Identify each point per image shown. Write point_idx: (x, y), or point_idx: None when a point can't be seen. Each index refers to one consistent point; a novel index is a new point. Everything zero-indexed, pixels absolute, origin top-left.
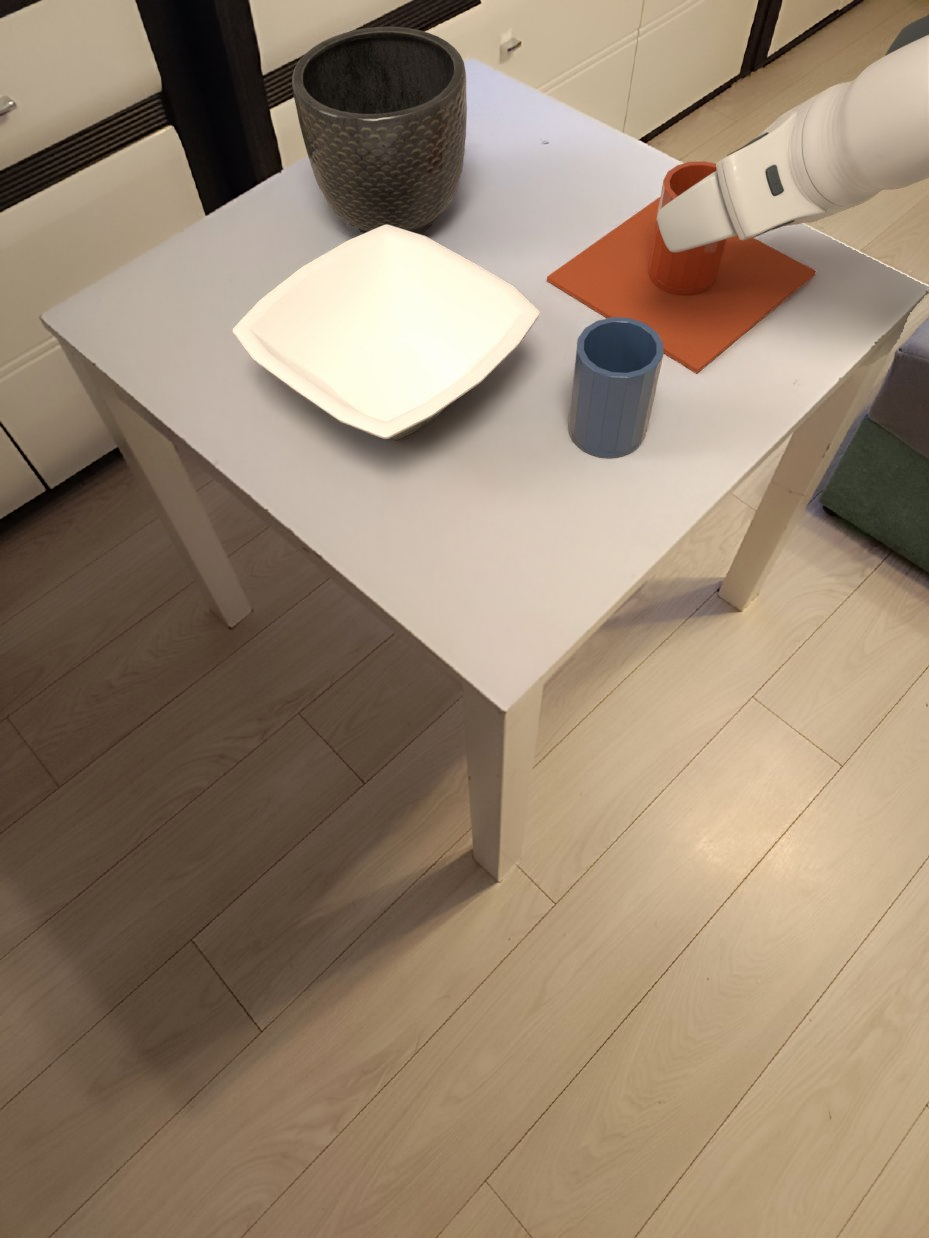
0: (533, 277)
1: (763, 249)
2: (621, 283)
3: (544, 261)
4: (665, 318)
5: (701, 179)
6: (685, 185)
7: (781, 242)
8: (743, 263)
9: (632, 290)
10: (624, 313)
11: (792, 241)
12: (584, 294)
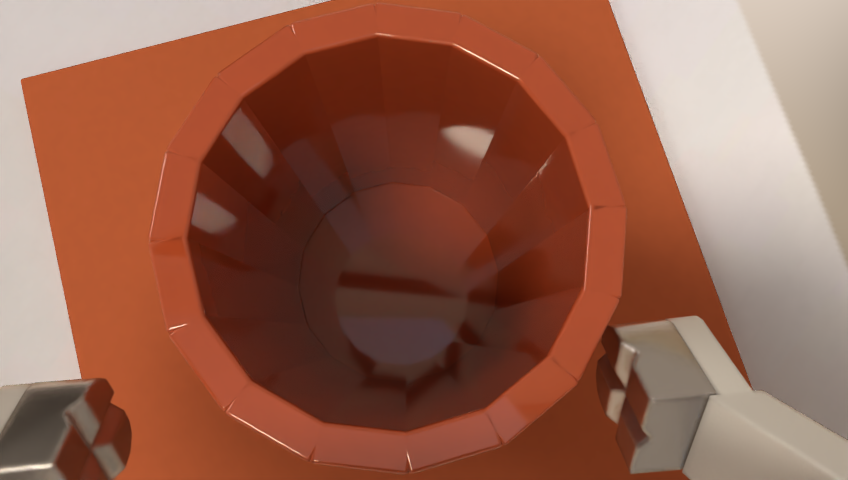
0: (10, 51)
1: None
2: None
3: (83, 7)
4: (214, 443)
5: (501, 115)
6: (428, 93)
7: (779, 302)
8: (600, 344)
9: None
10: (116, 352)
11: (813, 316)
12: (66, 208)
